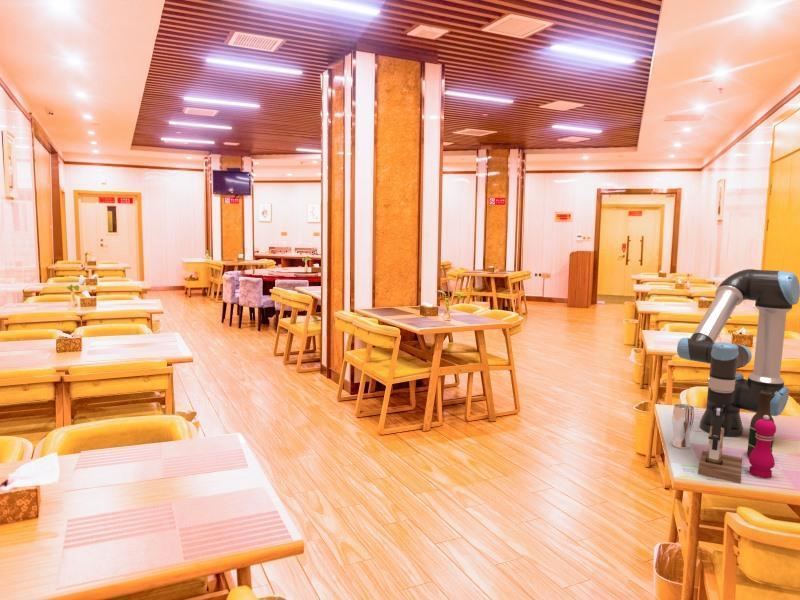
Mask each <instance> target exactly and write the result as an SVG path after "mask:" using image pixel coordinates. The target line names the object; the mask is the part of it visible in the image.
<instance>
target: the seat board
mask: <svg viewBox="0 0 800 600" xmlns="http://www.w3.org/2000/svg"><path fill="white" fill-rule="evenodd" d="M707 457H708V450H704V449H703V450H702V452H701V456H700V459H699V464H698V469H697V470H698V471H697V475H700V474H701V475H700V476H706V477H710V478H714V477H715V478H716V479H719V478H720V479H719V480H723V479H724V481H729V482H732V483H733V482H734V483H737V484H741V481H742V470H743V457H740V456H734V455H728V454H724V453H722V455H721V463H720V464H719V465H717V464H712V463H708V461H707Z"/></svg>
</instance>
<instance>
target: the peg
mask: <svg viewBox="0 0 800 600" xmlns="http://www.w3.org/2000/svg"><path fill="white" fill-rule="evenodd" d="M711 434H712V426H711V427H710V433H709V436H710V437H711ZM723 435H724V428H722V427H721V434H720V449H719V459H718V460H715V459H711V458H709V451H710V441H711V439H708V449H707V451H708V457H707V461H708V463H712V464H717V465H719V464H720V463H721V455H722V454H723V445H724V444H723V442H724V436H723ZM713 436H716V435H713Z"/></svg>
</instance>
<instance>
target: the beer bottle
mask: <svg viewBox="0 0 800 600" xmlns="http://www.w3.org/2000/svg"><path fill="white" fill-rule="evenodd" d="M760 395H761V396H760V401H759V407H758V411H757V412H755V414H753V416H752V418H751V420H750V425H749V431H748V432H749V434H748V440H747V442H748V443H747V453H746V454H747V455H746V456H747V458H749V456H750V454H751V452H752V451H753V449H754V447H755V445H756V437H755V435H756V434H755V433H756V432H757V431H756V430H755V428H754V426H755V423H756V421H757V420H760V419H763V416H764V415H768V416H769V417H770V419H769V420H770V421H772V422H773V423H774V424H775V425H776V423H775V421H774V418H773V416H771V414H770V401H771V396H772V393H771V392H769V391H761V392H760ZM774 435H775V433H774V434H773V436H774ZM774 437H775V436H774ZM774 437H773V440H772V441H771V451H772V452H773V448H774V447H773V446H774Z"/></svg>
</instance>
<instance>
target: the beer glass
mask: <svg viewBox="0 0 800 600" xmlns="http://www.w3.org/2000/svg"><path fill="white" fill-rule="evenodd" d="M694 412H695V408H694V406H692V405H689V404H686V403H675V404H673V410H672V415H671V416H672V419H671V420H672V421H671V422H672V433H673V434H672V435H673V436H672V440H671V446H672V447H674V448H677V449H680V450H681V449H683V450H688V449H690V435H691V432H692V428H693V424H694V418H695V417H694V416H695V413H694Z"/></svg>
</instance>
